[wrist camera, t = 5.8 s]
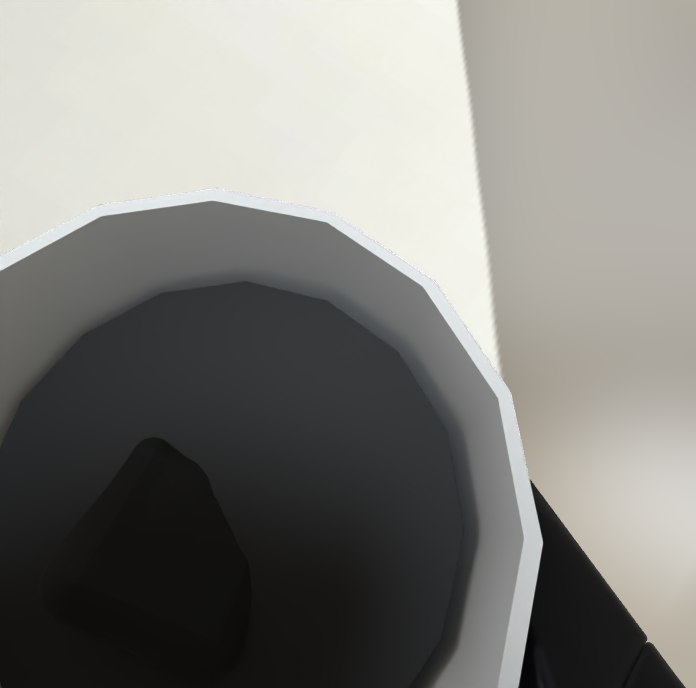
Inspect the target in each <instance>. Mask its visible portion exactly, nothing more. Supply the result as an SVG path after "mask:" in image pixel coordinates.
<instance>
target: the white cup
mask: <svg viewBox="0 0 696 688" xmlns="http://www.w3.org/2000/svg"><path fill="white" fill-rule="evenodd" d="M542 546H543V540H542V535H541V531H540V526H539V521H538V517H537V512H536V507H535V503H534V498H533V493H532V489H531V484H530V479H529V475H528V470H527V465H526V461H525V456H524V451H523V447H522V442H521V437H520V433H519V428H518V423H517V419H516V415H515V409H514V405H513V400H512V395H511V392H510V390H509V389H508V387H507V386H506V384H505V383H504V381H503V380H502V379H501V377H500V376H499V374H498V373H497V371H496V370H495V368H494V367H493V365H492V364H491V362H490V361H489V359H488V358H487V356H486V355H485V353H484V352H483V351H482V349H481V348H480V346H479V345H478V343H477V342H476V340H475V339H474V337H473V336H472V334H471V333H470V331H469V330H468V328H467V327H466V325H465V324H464V323H463V321H462V320H461V318H460V317H459V315H458V314H457V312H456V311H455V309H454V308H453V306H452V305H451V303H450V302H449V300H448V299H447V297H446V296H445V295H444V293H443V292H442V290H441V289H440V287H439V286H438V284H437V283H436V281H435V280H433V279H432V278H430V277H429V276H427V275H426V274H424V273H423V272H421V271H420V270H418V269H417V268H415V267H414V266H412V265H411V264H409V263H408V262H406V261H405V260H403V259H402V258H400V257H399V256H397V255H396V254H394V253H393V252H391V251H390V250H388V249H387V248H385V247H384V246H382V245H381V244H379V243H378V242H376V241H375V240H373V239H372V238H370V237H369V236H367V235H366V234H364V233H363V232H361V231H360V230H358V229H357V228H355V227H354V226H352V225H351V224H349V223H348V222H346V221H345V220H343V219H342V218H340V217H339V216H337V215H336V214H334V213H333V212H329V211H324V210H319V209H315V208H310V207H305V206H301V205H296V204H291V203H286V202H282V201H277V200H272V199H268V198H263V197H258V196H254V195H249V194H244V193H239V192H235V191H230V190H225V189H221V188H212V189H205V190H198V191H192V192H185V193H178V194H171V195H164V196H157V197H150V198H143V199H137V200H130V201H123V202H116V203H109V204H102V205H98V206H96V207H94V208H92V209H90V210H88V211H87V212H85V213H83V214H81V215H79V216H77V217H75V218H73V219H71V220H69V221H67V222H65V223H63V224H61V225H59V226H57V227H55V228H53V229H51V230H49V231H47V232H45V233H43V234H41V235H39V236H38V237H36V238H34V239H32V240H30V241H28V242H26V243H24V244H22V245H20V246H18V247H16V248H14V249H12V250H10V251H8V252H6V253H4V254H2V255H0V688H518V687H519V681H520V675H521V669H522V663H523V658H524V652H525V646H526V640H527V634H528V628H529V622H530V616H531V611H532V605H533V599H534V593H535V587H536V581H537V575H538V570H539V564H540V558H541V552H542Z"/></svg>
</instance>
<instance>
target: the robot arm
mask: <svg viewBox="0 0 696 688" xmlns="http://www.w3.org/2000/svg"><path fill="white" fill-rule="evenodd" d="M530 484H531V489H532V493H533V498H534V503H535V507H536V512H537V517H538V521H539V526H540V531H541V535H542V540H543V546H542V552H541V558H540V564H539V570H538V575H537V581H536V587H535V593H534V599H533V605H532V611H531V616H530V622H529V628H528V634H527V640H526V646H525V652H524V658H523V663H522V669H521V675H520V681H519V687H518V688H685V686H684V685H683V684H682V683H681V681H680V680H679V679H678V677H677V676H676V675H675V673H674V672H673V671H672V669H671V668H670V667H669V665H668V664H667V663H666V661H665V660H664V659H663V657H662V656H661V655H660V653H659V652H658V651H657V649H656V648H655V646H654V645H653V644H652V643H650V642H647V643H646V641H647V636H646V635H645V634H644V632H643V631H642V629H641V628H640V627H639V625H638V624H637V623H636V621H635V620H634V619H633V617H632V616H631V615H630V613H629V612H628V611H627V609H626V608H625V606H624V605H623V604H622V602H621V601H620V600H619V598H618V597H617V596H616V594H615V593H614V592H613V590H612V589H611V588H610V586H609V585H608V584H607V582H606V581H605V580H604V578H603V577H602V576H601V574H600V573H599V572H598V570H597V569H596V568H595V566H594V565H593V563H592V562H591V561H590V559H589V558H588V557H587V555H586V554H585V553H584V551H583V550H582V549H581V547H580V546H579V545H578V543H577V542H576V541H575V539H574V538H573V537H572V535H571V534H570V533H569V531H568V530H567V528H566V527H565V526H564V524H563V523H562V522H561V520H560V519H559V518H558V517H557V515H556V514H555V512H554V511H553V510H552V508H551V507H550V506H549V504H548V503H547V502H546V500H545V499H544V497H543V496H542V495H541V494H540V492H539V491H538V489H537V488H536V487H535V485H534V484H533V483H532V481H531V480H530ZM645 643H646V644H645Z"/></svg>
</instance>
